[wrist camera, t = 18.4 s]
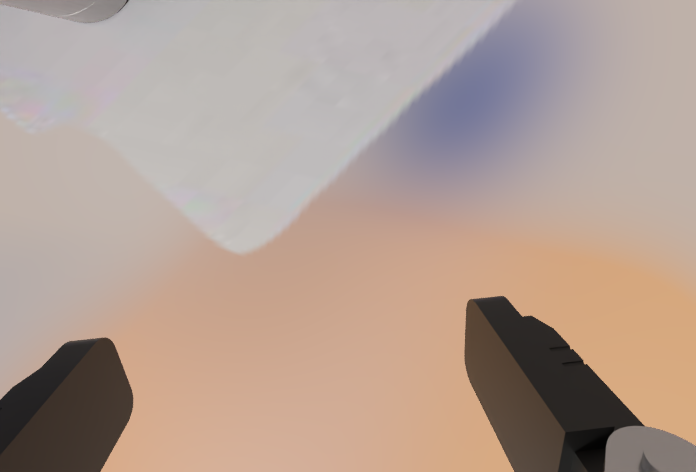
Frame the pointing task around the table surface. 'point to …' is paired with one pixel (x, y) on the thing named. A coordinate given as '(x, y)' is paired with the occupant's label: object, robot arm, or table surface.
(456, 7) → the table surface
